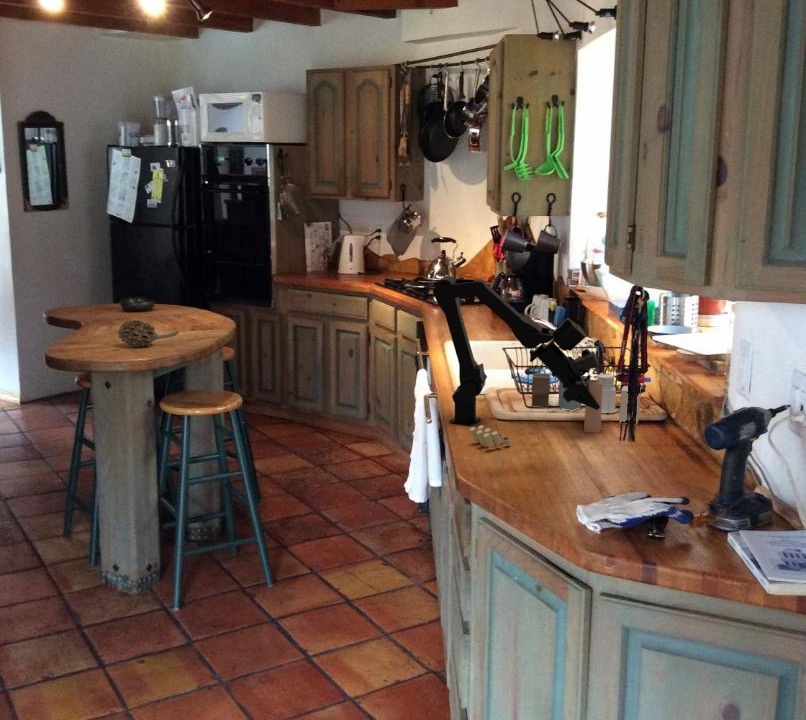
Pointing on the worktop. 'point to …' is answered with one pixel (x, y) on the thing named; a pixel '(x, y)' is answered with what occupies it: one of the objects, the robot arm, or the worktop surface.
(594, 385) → the terracotta block
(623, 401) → the cream block
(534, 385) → the walnut block
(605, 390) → the downlight
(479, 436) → the ammunition
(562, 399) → the slate blue block
